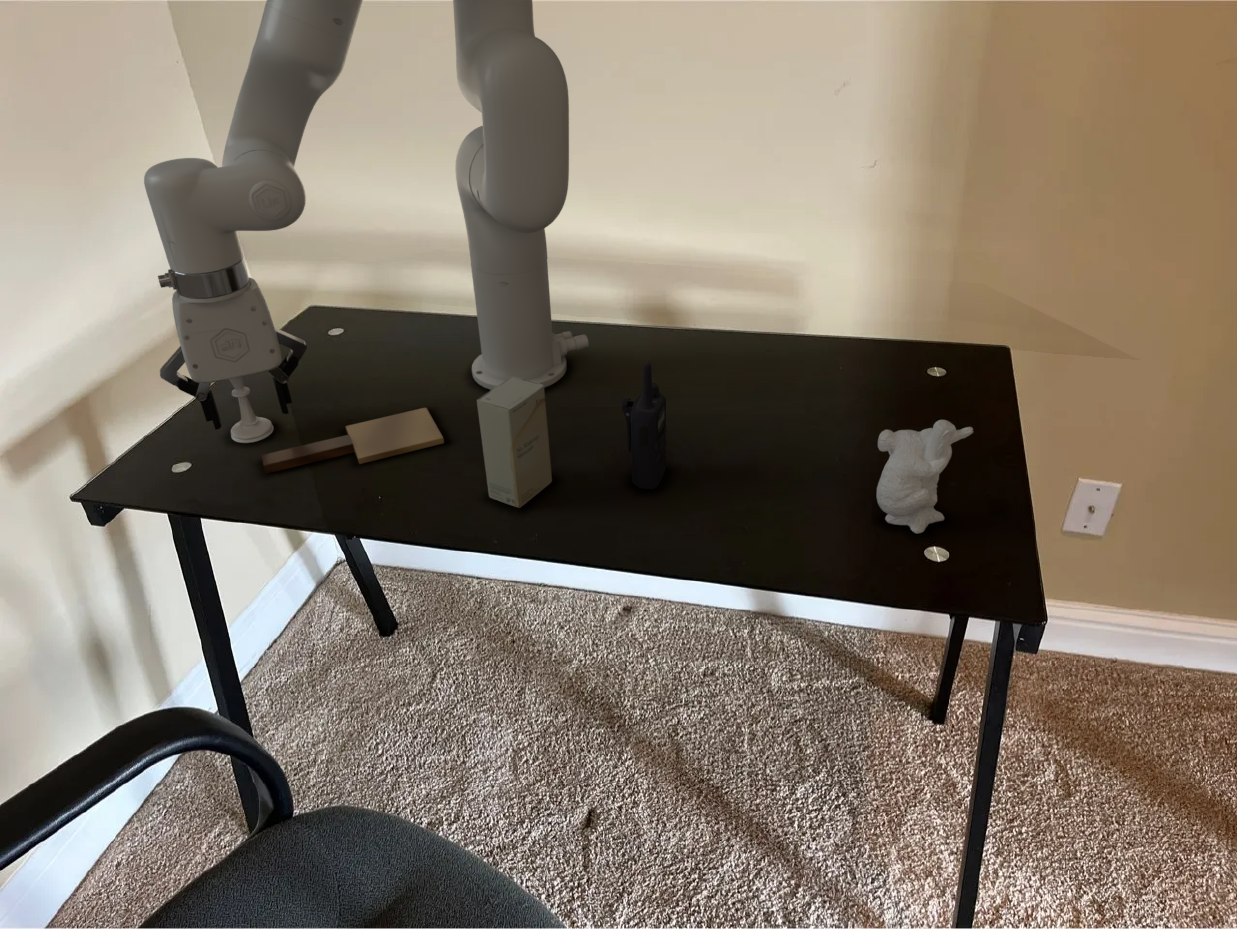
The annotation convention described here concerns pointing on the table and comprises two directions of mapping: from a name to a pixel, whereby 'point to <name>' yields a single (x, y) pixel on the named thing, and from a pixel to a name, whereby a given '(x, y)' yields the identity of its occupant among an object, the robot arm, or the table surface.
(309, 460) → the spatula
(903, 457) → the koala figurine
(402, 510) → the table surface
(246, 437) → the chess piece
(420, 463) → the table surface
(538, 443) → the cosmetic box
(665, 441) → the two-way radio
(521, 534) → the table surface
